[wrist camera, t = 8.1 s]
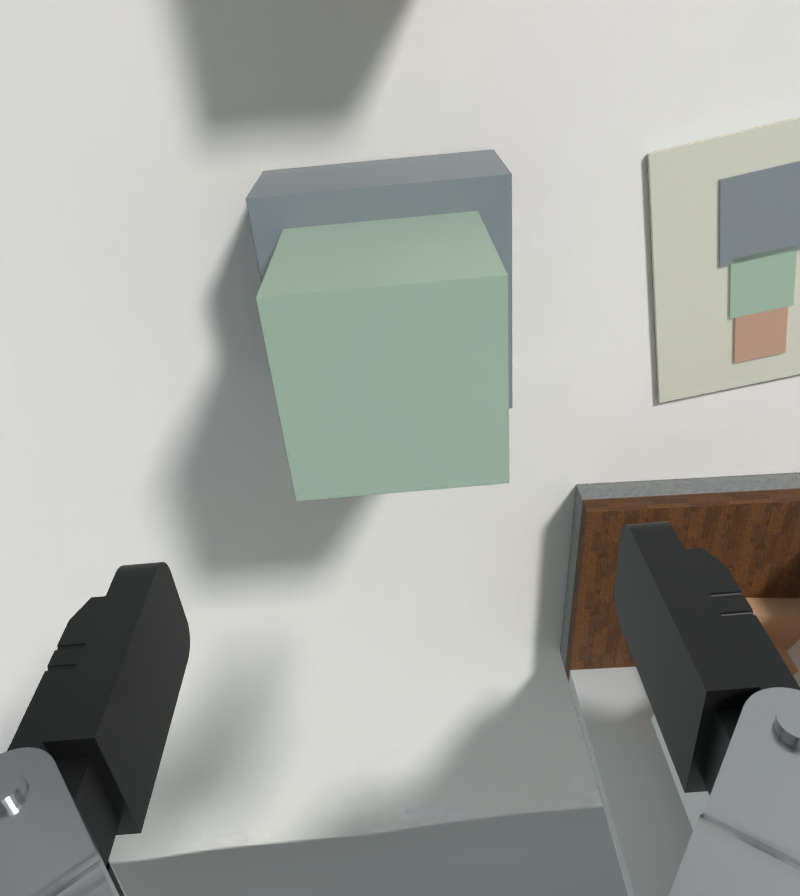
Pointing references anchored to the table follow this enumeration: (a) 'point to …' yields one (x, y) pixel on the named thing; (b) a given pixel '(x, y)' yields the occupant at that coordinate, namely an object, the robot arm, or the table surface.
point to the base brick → (386, 200)
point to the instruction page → (726, 260)
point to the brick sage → (389, 355)
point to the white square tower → (611, 664)
